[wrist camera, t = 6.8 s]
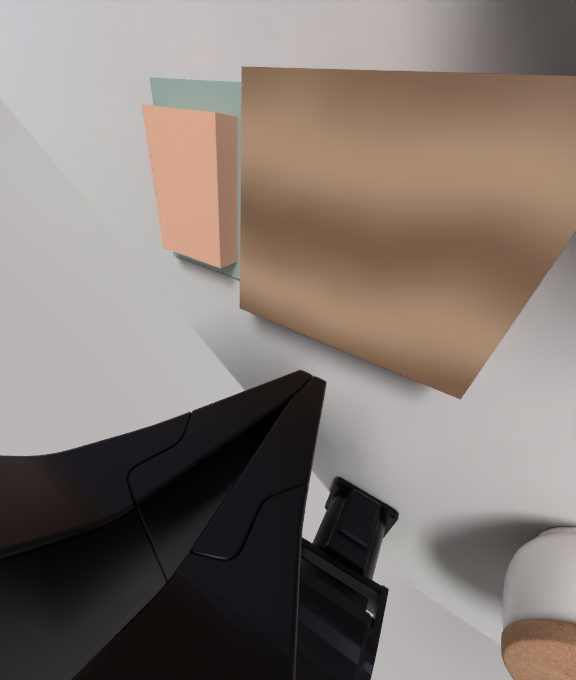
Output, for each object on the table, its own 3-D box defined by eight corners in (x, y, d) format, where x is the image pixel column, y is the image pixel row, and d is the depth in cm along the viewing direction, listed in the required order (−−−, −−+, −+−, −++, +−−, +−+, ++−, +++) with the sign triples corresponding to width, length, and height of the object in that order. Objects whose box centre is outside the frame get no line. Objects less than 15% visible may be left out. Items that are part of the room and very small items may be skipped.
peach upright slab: (163, 247, 23) (182, 242, 24) (220, 268, 21) (237, 261, 22) (141, 104, 17) (167, 109, 19) (215, 112, 15) (238, 116, 17)
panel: (266, 287, 22) (264, 288, 22) (176, 254, 26) (173, 255, 25) (280, 85, 15) (277, 84, 15) (153, 78, 19) (150, 77, 19)
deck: (463, 358, 17) (460, 399, 14) (271, 289, 22) (239, 308, 19) (621, 103, 10) (679, 78, 7) (288, 86, 15) (241, 66, 12)
